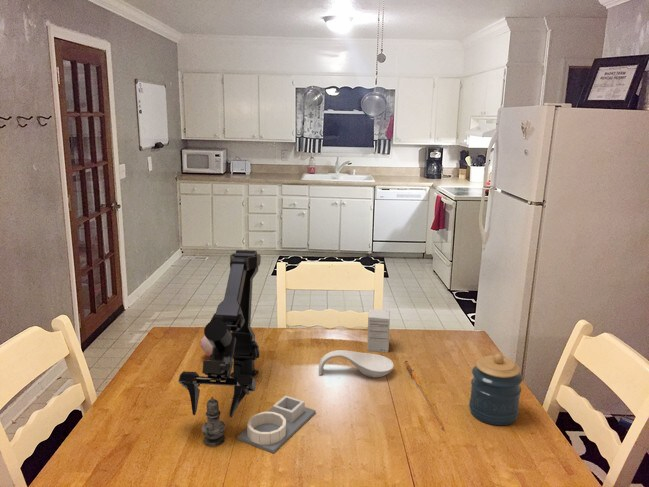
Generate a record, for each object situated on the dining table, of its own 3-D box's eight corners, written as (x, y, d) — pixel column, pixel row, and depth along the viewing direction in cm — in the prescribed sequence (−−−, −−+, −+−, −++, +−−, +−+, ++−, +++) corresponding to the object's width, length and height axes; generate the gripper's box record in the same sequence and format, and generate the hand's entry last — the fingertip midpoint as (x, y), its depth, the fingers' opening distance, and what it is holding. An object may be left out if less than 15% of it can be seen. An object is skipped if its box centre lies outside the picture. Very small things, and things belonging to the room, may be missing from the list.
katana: (439, 434, 137) (440, 425, 136) (403, 365, 170) (404, 358, 169) (444, 434, 137) (445, 425, 136) (407, 365, 170) (408, 358, 170)
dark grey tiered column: (220, 448, 129) (218, 404, 126) (198, 445, 130) (195, 401, 127) (229, 434, 134) (228, 392, 131) (208, 431, 135) (205, 389, 132)
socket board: (282, 401, 149) (282, 389, 148) (315, 413, 144) (315, 400, 143) (237, 439, 132) (237, 425, 131) (273, 453, 127) (273, 439, 126)
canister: (517, 405, 149) (524, 347, 144) (518, 430, 137) (525, 369, 132) (470, 396, 153) (475, 340, 148) (466, 421, 141) (472, 361, 136)
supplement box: (367, 342, 188) (369, 308, 184) (388, 343, 187) (390, 310, 183) (366, 351, 180) (367, 316, 177) (388, 352, 179) (389, 318, 176)
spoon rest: (390, 364, 172) (391, 344, 170) (396, 382, 161) (397, 361, 159) (318, 364, 171) (318, 344, 170) (318, 383, 160) (318, 361, 158)
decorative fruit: (235, 356, 175) (234, 329, 173) (217, 366, 169) (216, 337, 166) (214, 349, 180) (213, 322, 178) (196, 359, 174) (195, 331, 171)
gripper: (178, 342, 131) (165, 405, 123) (252, 345, 130) (243, 410, 122) (190, 356, 141) (178, 416, 133) (259, 360, 139) (251, 420, 131)
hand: (212, 415), depth 130 cm, fingers open, 9 cm apart
